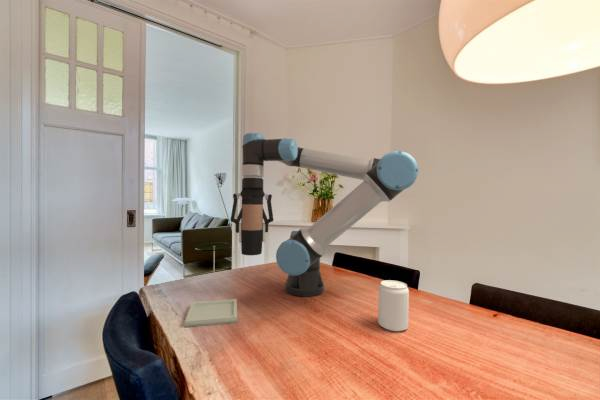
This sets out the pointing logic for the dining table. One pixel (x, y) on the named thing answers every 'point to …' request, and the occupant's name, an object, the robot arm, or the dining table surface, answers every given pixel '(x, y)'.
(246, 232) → the travel mug
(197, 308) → the tray
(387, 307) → the beverage can
